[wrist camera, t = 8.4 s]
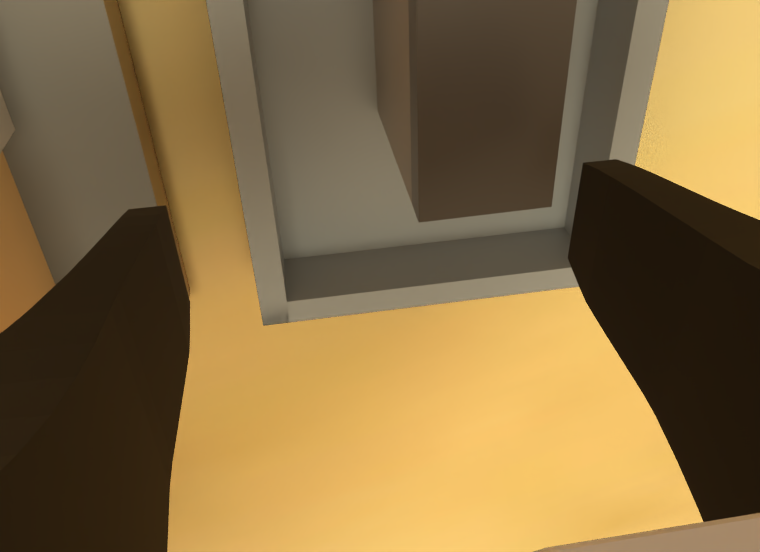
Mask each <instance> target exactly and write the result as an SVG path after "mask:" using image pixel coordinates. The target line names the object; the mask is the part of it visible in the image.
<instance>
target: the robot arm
mask: <svg viewBox="0 0 760 552" xmlns="http://www.w3.org/2000/svg"><path fill="white" fill-rule="evenodd" d="M568 260H569V263H570V265H571V268H572V270H573V273H574V275H575V278H576V280H577V283H578V285H579V287H580V289H581V292H582V294H583V296H584V298H585V301H586V303H587V304H588V306H589V308H590V309H591V311H592V313H593V314H594V316H595V318H596V319H597V321H598V323H599V324H600V326H601V327H602V329H603V331H604V332H605V334H606V336H607V337H608V339H609V340H610V342H611V343H612V345H613V347H614V348H615V350H616V351H617V353H618V355H619V356H620V358H621V359H622V361H623V362H624V364H625V366H626V367H627V369H628V370H629V372H630V374H631V375H632V377H633V378H634V380H635V381H636V383H637V385H638V386H639V388H640V389H641V391H642V393H643V394H644V396H645V398H646V399H647V401H648V403H649V405H650V407H651V408H652V410H653V412H654V414H655V415H656V417H657V419H658V422H659V424H660V426H661V428H662V430H663V432H664V434H665V436H666V438H667V440H668V443H669V445H670V447H671V449H672V451H673V453H674V455H675V457H676V459H677V461H678V464H679V466H680V468H681V471H682V473H683V475H684V477H685V480H686V482H687V484H688V487H689V489H690V491H691V493H692V496H693V498H694V500H695V502H696V505H697V507H698V509H699V512H700V514H701V517H702V519H703V522H701V523H695V524H689V525H683V526H676V527H670V528H664V529H658V530H652V531H646V532H640V533H634V534H627V535H621V536H615V537H609V538H603V539H597V540H591V541H584V542H578V543H572V544H566V545H560V546H554V547H548V548H544V549H541V550H538V551H534V552H760V220H758V219H755V218H753V217H750V216H748V215H745V214H743V213H740V212H738V211H736V210H733V209H731V208H729V207H726V206H724V205H722V204H719V203H717V202H715V201H713V200H710V199H708V198H706V197H704V196H702V195H699V194H697V193H695V192H693V191H691V190H688V189H686V188H684V187H682V186H680V185H678V184H675V183H673V182H671V181H669V180H667V179H664V178H662V177H660V176H658V175H656V174H653V173H651V172H649V171H646V170H644V169H642V168H639V167H637V166H634V165H632V164H629V163H626V162H623V161H620V160H617V159H613V160H604V161H594V162H584V163H583V165H582V171H581V177H580V184H579V190H578V196H577V202H576V209H575V215H574V221H573V227H572V233H571V240H570V246H569V252H568ZM189 345H190V301H189V296H188V292H187V288H186V284H185V280H184V276H183V272H182V268H181V264H180V260H179V256H178V252H177V248H176V244H175V239H174V235H173V231H172V227H171V223H170V219H169V215H168V211H167V207H166V205H164V206H155V207H145V208H135V209H128V210H127V211H126V212H125V213H124V214H123V215H122V216H121V217H120V218H119V219H118V220H117V221H116V222H115V224H114V225H113V226H112V227H111V228H110V229H109V230H108V231H107V232H106V233H105V235H104V236H103V237H102V238H101V239H100V240H99V241H98V242H97V243H96V244H95V245H94V247H93V248H92V249H91V250H90V251H89V252H88V253H87V254H86V255H85V256H84V257H83V258H82V259H81V260H80V261H79V262H78V263H77V264H76V265H75V267H74V268H73V269H72V270H71V271H70V272H69V273H68V274H67V275H66V276H65V277H64V278H62V279H61V280H60V281H59V282H58V283H57V284H56V285H55V286H54V287H53V288H52V289H51V290H50V291H49V292H48V293H46V294H45V295H44V296H43V297H42V298H41V299H40V300H39V301H38V302H37V303H36V304H35V305H34V306H33V307H32V308H30V309H29V310H28V311H27V312H26V313H25V314H24V315H22V316H21V317H20V318H19V319H18V320H16V321H15V322H14V323H13V324H11V325H10V326H9V327H8V328H7V329H5V330H4V331H3V332H1V333H0V552H167V540H168V516H169V492H170V479H171V470H172V461H173V454H174V448H175V442H176V435H177V429H178V423H179V416H180V410H181V404H182V397H183V391H184V384H185V378H186V371H187V365H188V358H189Z"/></svg>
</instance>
